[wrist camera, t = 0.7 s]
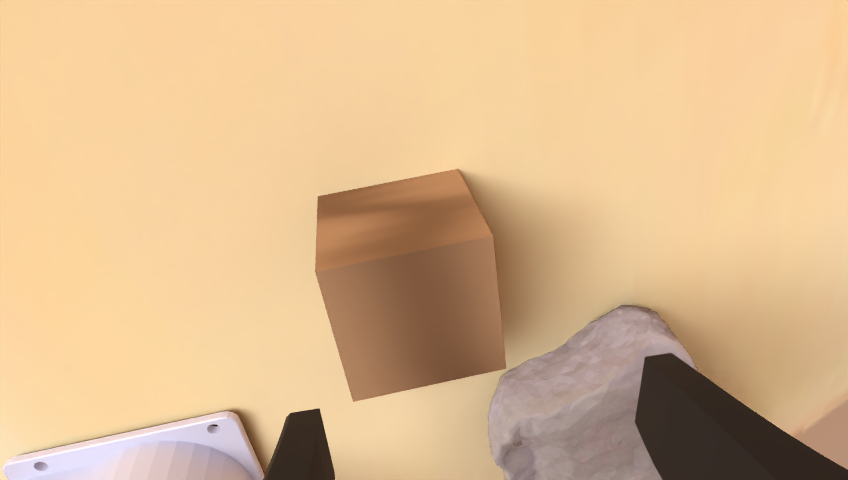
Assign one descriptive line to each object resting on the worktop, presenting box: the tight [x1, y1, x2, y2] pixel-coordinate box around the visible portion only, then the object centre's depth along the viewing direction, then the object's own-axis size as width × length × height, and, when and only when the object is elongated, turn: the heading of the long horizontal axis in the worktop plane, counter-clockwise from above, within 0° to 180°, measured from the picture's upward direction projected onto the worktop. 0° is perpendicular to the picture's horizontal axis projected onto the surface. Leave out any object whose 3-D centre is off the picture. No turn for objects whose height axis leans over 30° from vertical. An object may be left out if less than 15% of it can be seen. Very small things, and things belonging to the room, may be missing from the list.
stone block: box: [488, 305, 698, 480], centre depth 27 cm, size 12×5×10 cm
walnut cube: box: [315, 169, 506, 402], centre depth 19 cm, size 5×5×5 cm
